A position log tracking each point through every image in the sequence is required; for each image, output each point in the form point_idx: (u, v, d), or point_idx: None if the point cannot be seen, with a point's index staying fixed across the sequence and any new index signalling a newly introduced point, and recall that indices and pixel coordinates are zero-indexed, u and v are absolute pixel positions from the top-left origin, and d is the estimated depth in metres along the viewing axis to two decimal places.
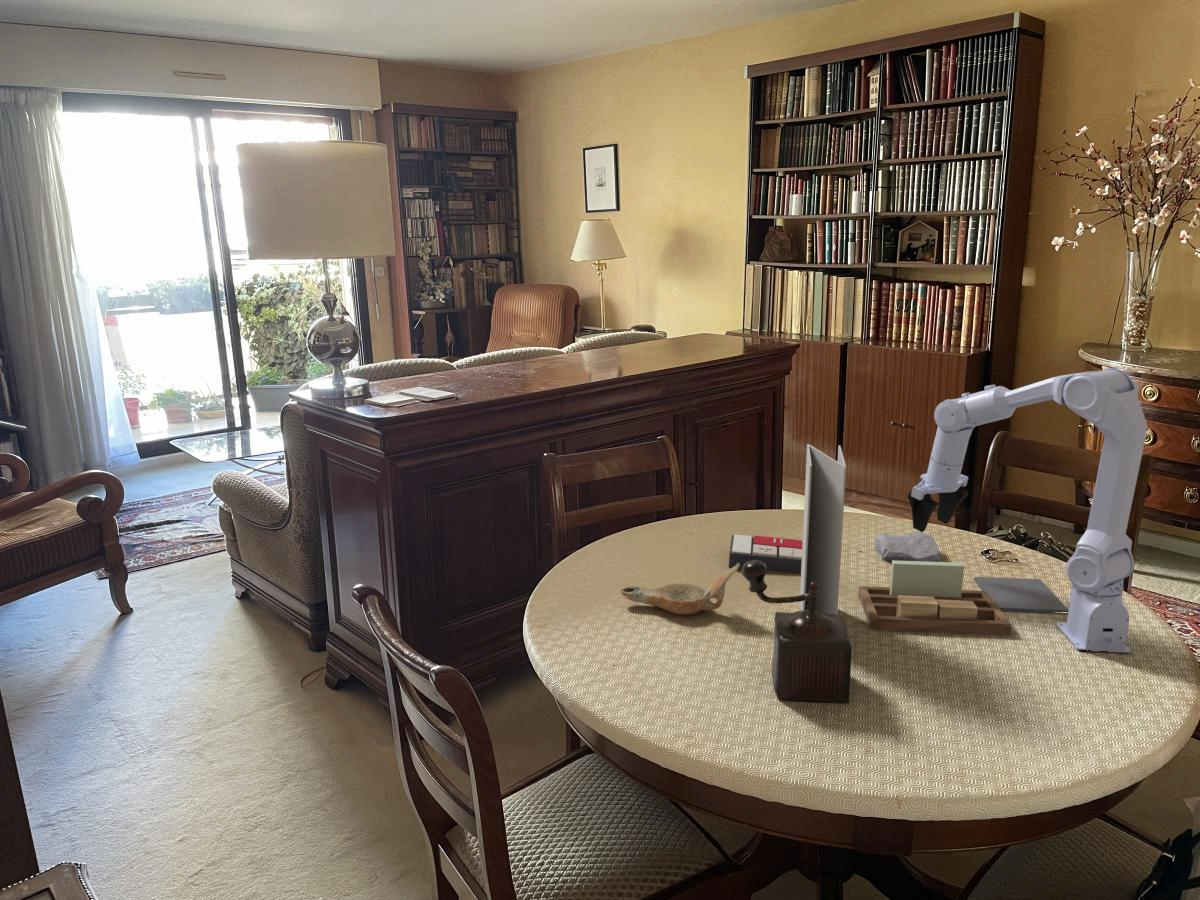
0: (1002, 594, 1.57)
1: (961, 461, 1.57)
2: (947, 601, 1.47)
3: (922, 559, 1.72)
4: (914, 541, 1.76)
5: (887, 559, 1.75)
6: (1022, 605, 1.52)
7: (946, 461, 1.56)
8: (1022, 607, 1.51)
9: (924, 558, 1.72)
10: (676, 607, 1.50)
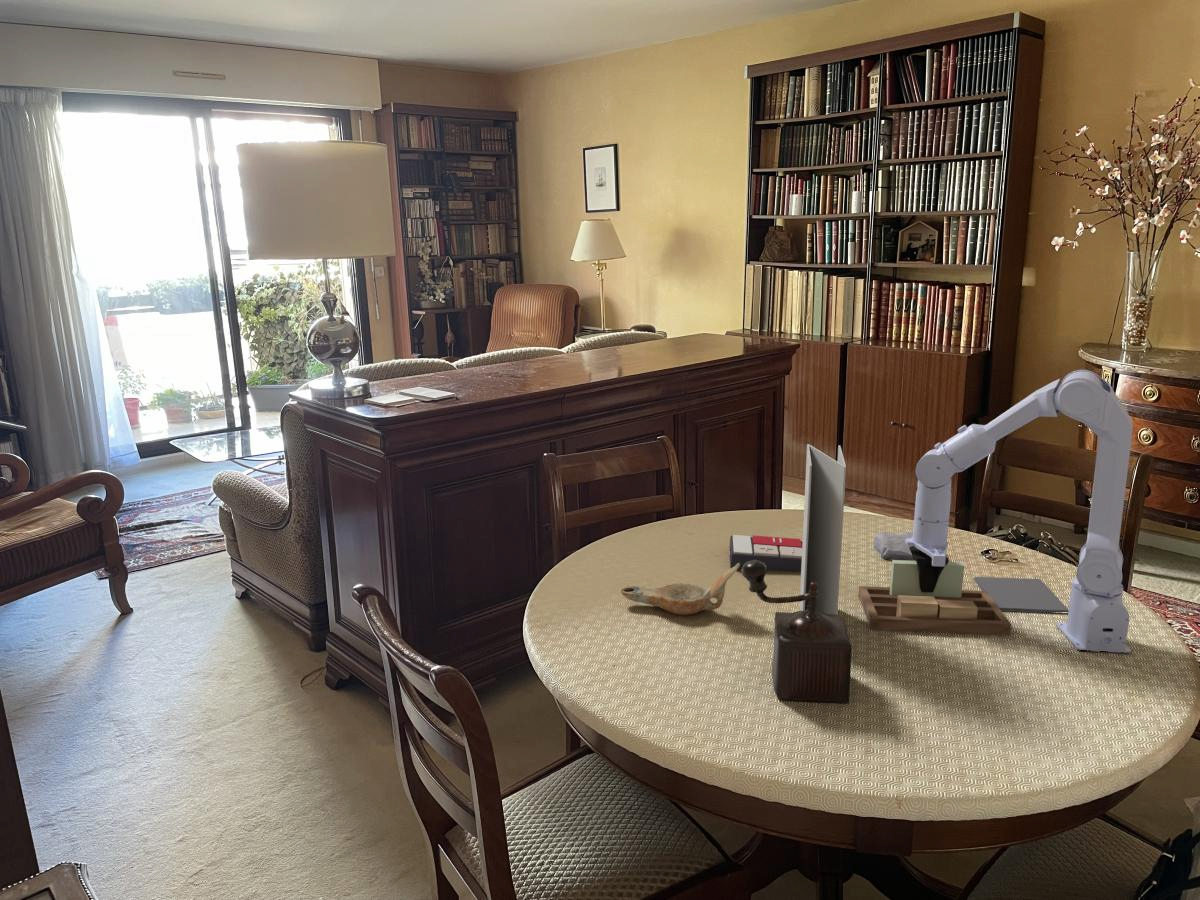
0: (1002, 594, 1.57)
1: None
2: (947, 601, 1.47)
3: None
4: None
5: (886, 557, 1.76)
6: (1022, 605, 1.52)
7: (938, 518, 1.48)
8: (1022, 607, 1.51)
9: None
10: (676, 607, 1.50)
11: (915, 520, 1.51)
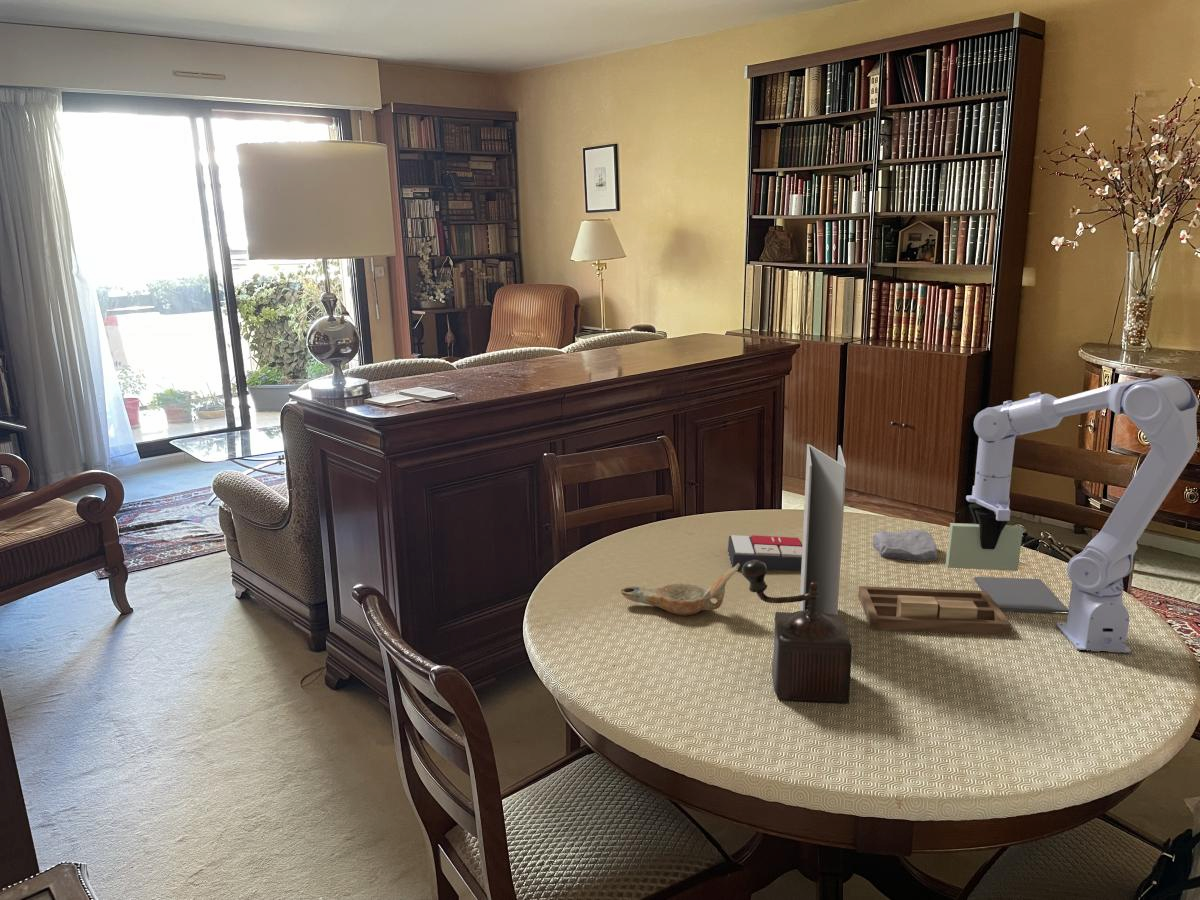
0: (1002, 594, 1.57)
1: (1009, 471, 1.48)
2: (947, 601, 1.47)
3: (920, 555, 1.74)
4: (912, 538, 1.78)
5: (885, 556, 1.77)
6: (1022, 605, 1.52)
7: (994, 473, 1.48)
8: (1022, 607, 1.51)
9: (922, 555, 1.74)
10: (676, 607, 1.50)
11: (977, 476, 1.50)
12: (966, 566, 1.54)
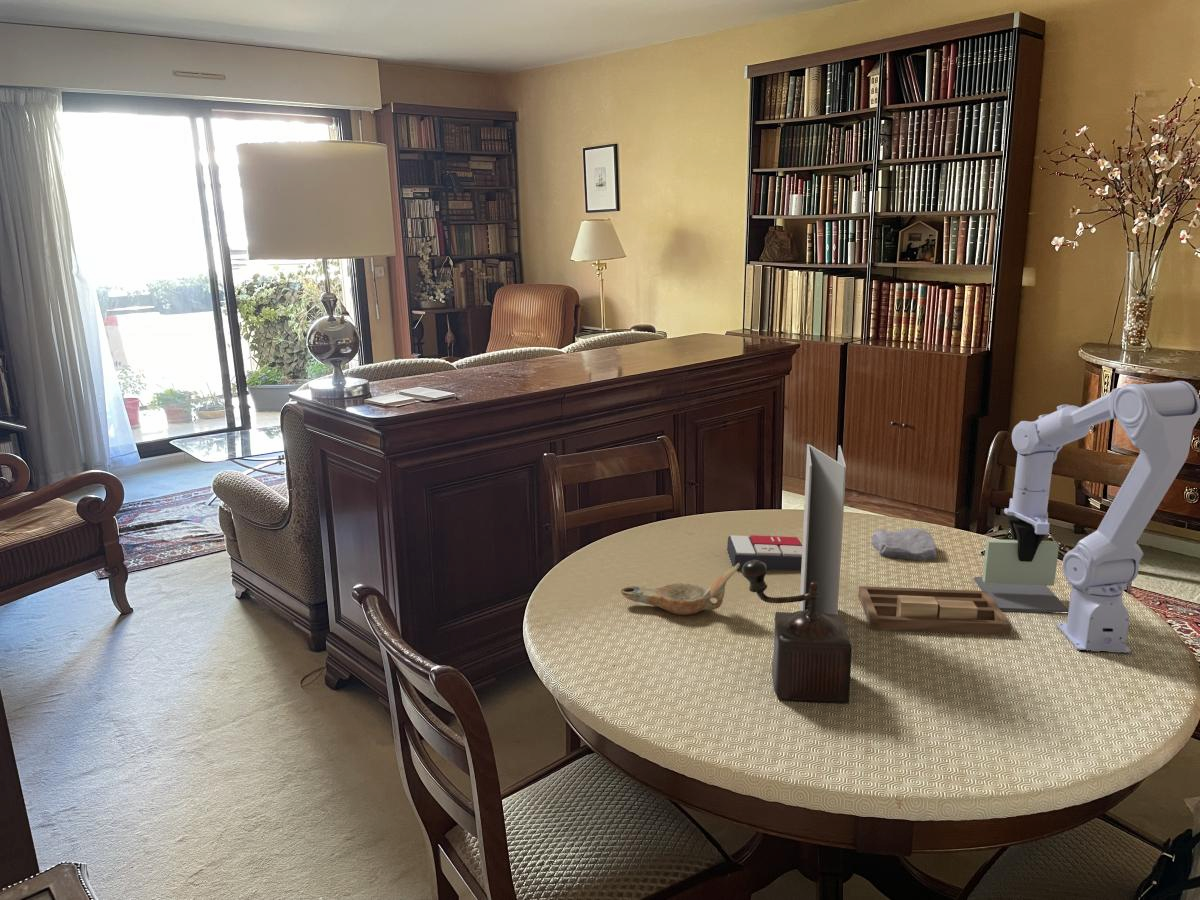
0: (1002, 594, 1.57)
1: (1044, 486, 1.49)
2: (947, 601, 1.47)
3: (919, 554, 1.74)
4: (911, 537, 1.78)
5: (885, 555, 1.77)
6: (1022, 605, 1.52)
7: (1026, 486, 1.50)
8: (1022, 607, 1.51)
9: (922, 554, 1.75)
10: (676, 607, 1.50)
11: (1015, 490, 1.52)
12: (1002, 581, 1.56)
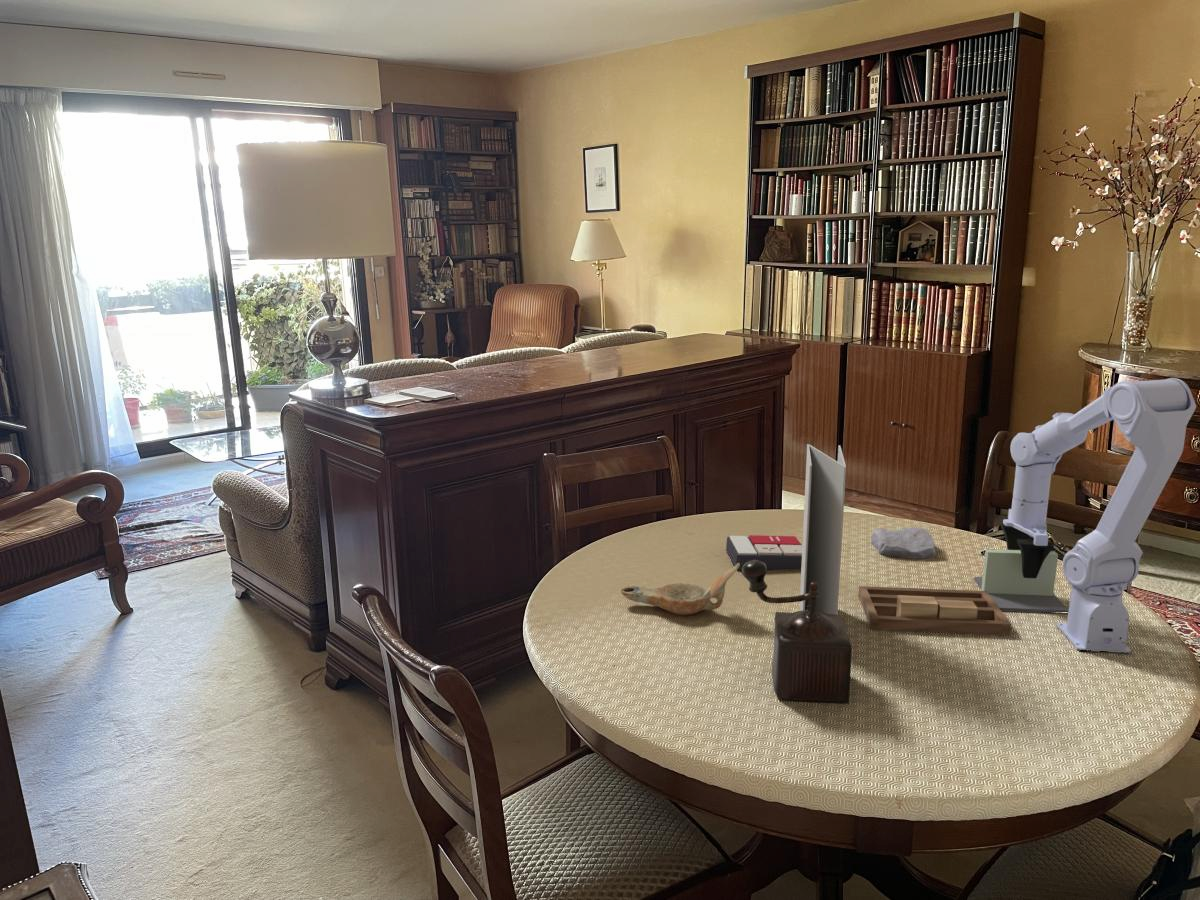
0: (1002, 594, 1.57)
1: (1043, 498, 1.50)
2: (947, 601, 1.47)
3: (918, 553, 1.75)
4: (910, 535, 1.79)
5: (884, 553, 1.78)
6: (1022, 605, 1.52)
7: (1025, 497, 1.51)
8: (1022, 607, 1.51)
9: (921, 552, 1.75)
10: (676, 607, 1.50)
11: (1014, 501, 1.53)
12: (1001, 591, 1.57)
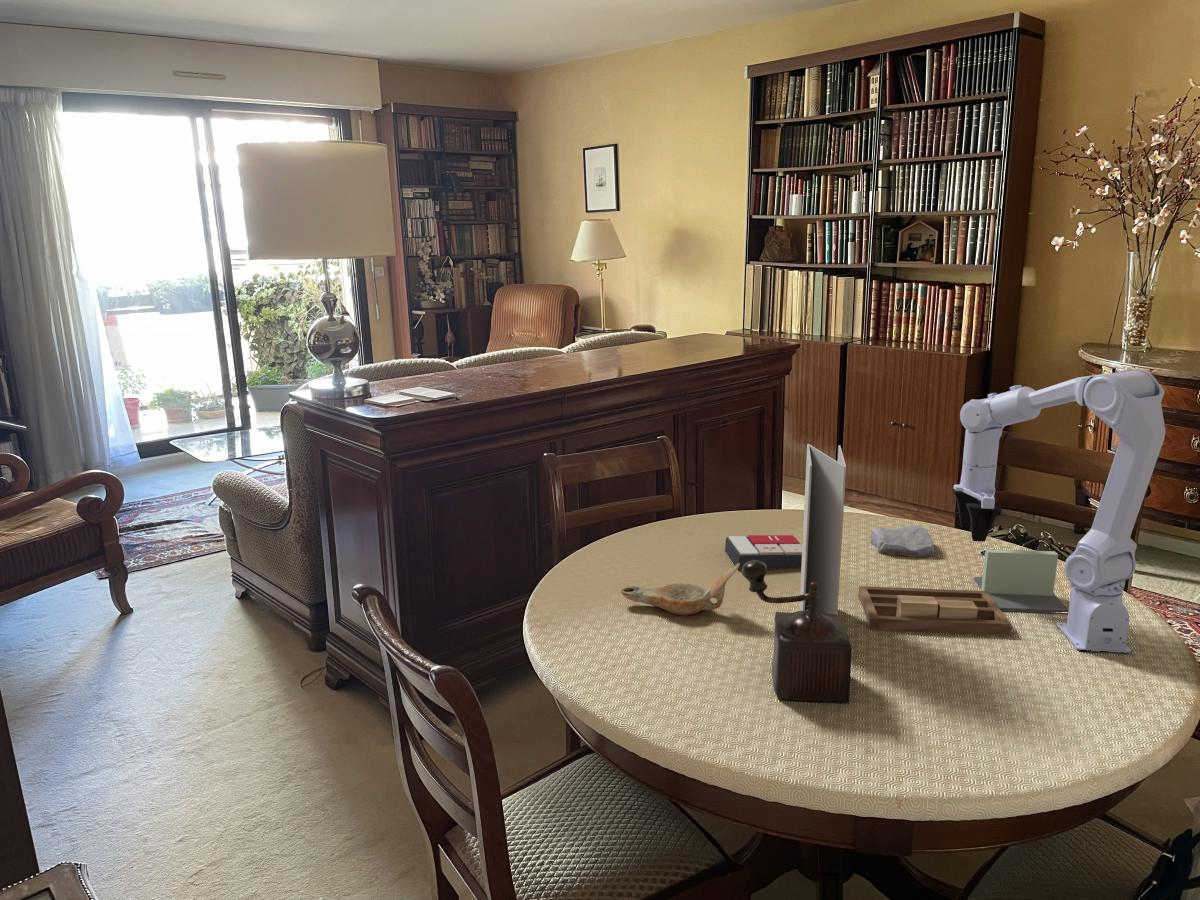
0: (1002, 594, 1.57)
1: (994, 462, 1.54)
2: (947, 601, 1.47)
3: (917, 551, 1.76)
4: (909, 534, 1.80)
5: (883, 552, 1.79)
6: (1022, 605, 1.52)
7: (977, 463, 1.54)
8: (1022, 607, 1.51)
9: (920, 550, 1.76)
10: (676, 607, 1.50)
11: (964, 466, 1.57)
12: (1001, 591, 1.57)
